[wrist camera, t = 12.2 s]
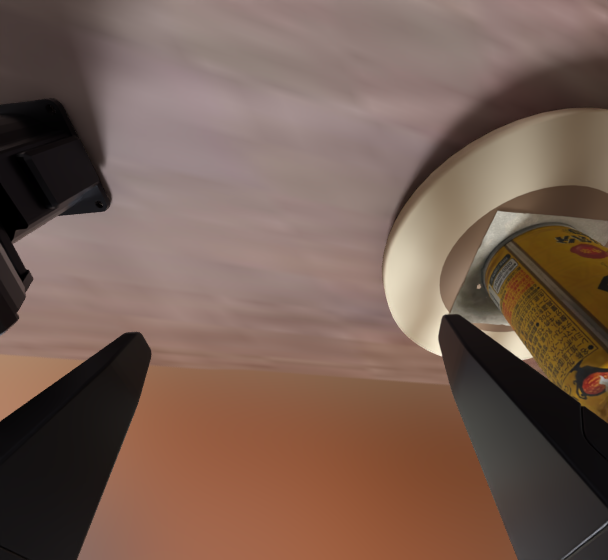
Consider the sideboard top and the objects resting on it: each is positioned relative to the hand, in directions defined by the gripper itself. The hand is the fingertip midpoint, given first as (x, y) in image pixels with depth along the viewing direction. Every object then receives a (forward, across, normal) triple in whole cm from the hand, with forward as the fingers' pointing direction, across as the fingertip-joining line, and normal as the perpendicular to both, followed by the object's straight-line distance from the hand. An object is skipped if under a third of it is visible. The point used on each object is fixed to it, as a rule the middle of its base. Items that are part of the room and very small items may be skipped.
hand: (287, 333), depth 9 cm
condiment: (+11, -14, +6) cm, 19 cm away
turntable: (+12, -14, +6) cm, 19 cm away
